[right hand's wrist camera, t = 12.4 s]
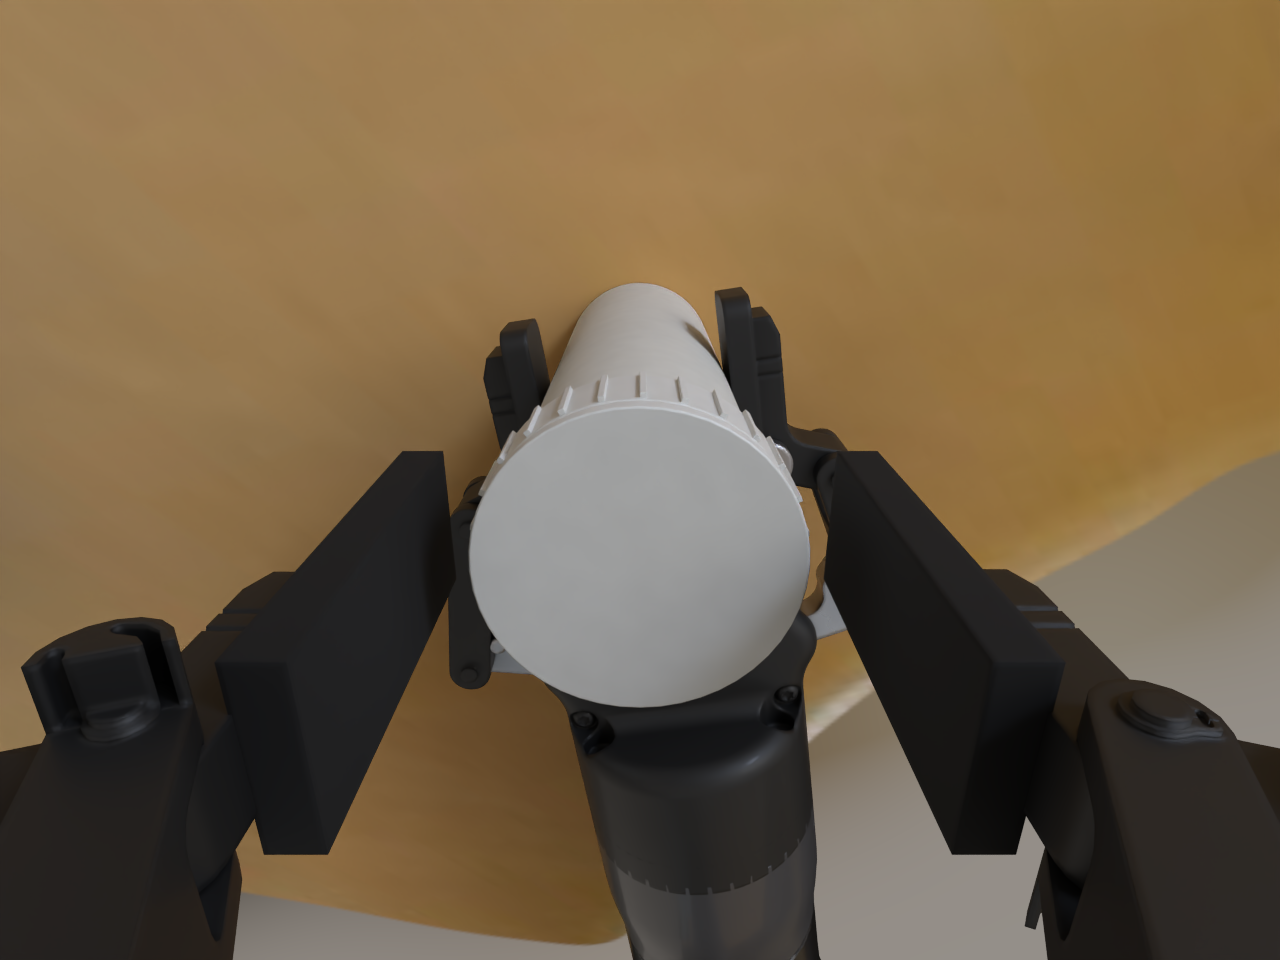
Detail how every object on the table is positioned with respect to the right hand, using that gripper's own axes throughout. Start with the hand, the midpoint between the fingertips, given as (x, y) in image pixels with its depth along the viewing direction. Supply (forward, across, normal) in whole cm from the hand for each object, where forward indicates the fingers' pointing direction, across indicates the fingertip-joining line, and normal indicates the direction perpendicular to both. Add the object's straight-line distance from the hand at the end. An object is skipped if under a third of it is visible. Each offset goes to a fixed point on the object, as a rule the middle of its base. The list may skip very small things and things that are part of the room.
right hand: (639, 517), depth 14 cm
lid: (-2, 0, 0) cm, 2 cm away
